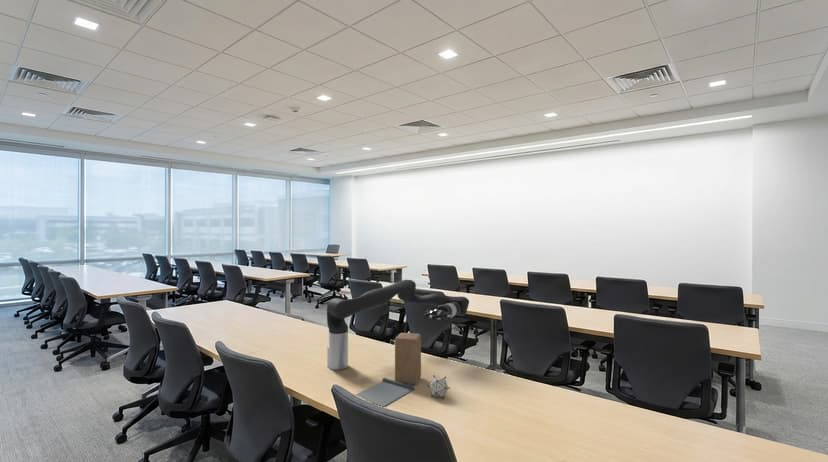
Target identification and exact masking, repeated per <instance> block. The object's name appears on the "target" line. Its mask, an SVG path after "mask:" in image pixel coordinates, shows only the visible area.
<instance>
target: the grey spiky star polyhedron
mask: <svg viewBox="0 0 828 462" xmlns="http://www.w3.org/2000/svg"><path fill="white" fill-rule="evenodd" d="M432 376H433V378H432V380H431V381H430V383H429V384H427V385H426V386H427V387H429V391H430V393H431V398H433V397H437V398H438V397H439V398H442V399H443V400H445V397H444V396H445V395H446V393H447V391H448V390H450V389H451V387H449V385H448V383H447V381H446V378H447V376H444V377H440V376H439V377H438V376H435V375H432Z"/></svg>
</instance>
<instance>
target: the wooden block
mask: <svg viewBox="0 0 828 462" xmlns="http://www.w3.org/2000/svg"><path fill="white" fill-rule="evenodd" d="M421 377H422V335H421V333H412V332H410V333H409V332H400V333H399V334H398V335H397V336H396V337H395V339H394V381H398V382H402V383H405V384H409V385H412V386H415V385H418V383H419V381H420V378H421Z"/></svg>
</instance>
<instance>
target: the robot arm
mask: <svg viewBox="0 0 828 462" xmlns="http://www.w3.org/2000/svg"><path fill="white" fill-rule="evenodd" d="M416 288H417V283H416V282H415V281H414V280H412V279H403V280H400V281H397V282H395V283H392V284H390V285H386V286H383V287H380V288H374V289H371V290H368V291H366V292H365V293H363V294H362V295H360V296H358V297H354V298H350V299H349V298H348V299H343V298H339V297H334V298H331V299H330V300H329V302H328V303H327V305H326V323H327V328H328V346H327V367H328V368H329V369H331V370H335V371H337V370H338V371H339V370H344V369H347V368H348V367H349V326H348V323H347V322H346V320H345V319H346V318H348V317H351V316H353V315H355V314H358V313H361V312H363V311H368V310H373V309H376V308H379V307H382V306H385V305H386V304H387V303H389V302H390V301H391V300H392V299H393V298H394V297H395V296H397V298H398V299H399V300H401V301H403V302H406V303H414V304H422V305H423V304H424V305H431V306H435V307H436V309H434V310H433V309H432V310H430V309H427V310H425V311H424V314H423V315H422V317H423V319H425V320H427V319H430V318H431V321H435V320H440V321H446V320H449V319H451V318H453V317H455V316H458V317H463V316H465V315H466V314H467V311H468V309H469V304H470V299H469V298H467V297H465V296H450V295H446V294H442V293H430V294H425V295H419V294H415V293H416Z"/></svg>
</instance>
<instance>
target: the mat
mask: <svg viewBox="0 0 828 462" xmlns="http://www.w3.org/2000/svg"><path fill="white" fill-rule="evenodd" d="M414 390H415V385H412V384H405V383H402V382H398V381H395V379H391V378H387V377H383V378H382V381H380V382H378V383H376V384H374V385H372V386H369V387H368V388H365V389H364V390H362V391H360V392H358V393H355V395H357V396H359V397H361V398H363V399H365V400H367V401H369V402H372V403H375V404H377V405H376V406H378V405H380V406H379V407H381V406H383V407H382V408H385V407H387V406H389V405H391V404H392V403H394V402H396V401H397V400H399V399H401V398H402V397H404V396H405V395H407V394H409V393H411V392H413V391H414ZM369 402H368V403H369ZM372 403H371V404H372ZM375 404H374V405H375Z"/></svg>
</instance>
